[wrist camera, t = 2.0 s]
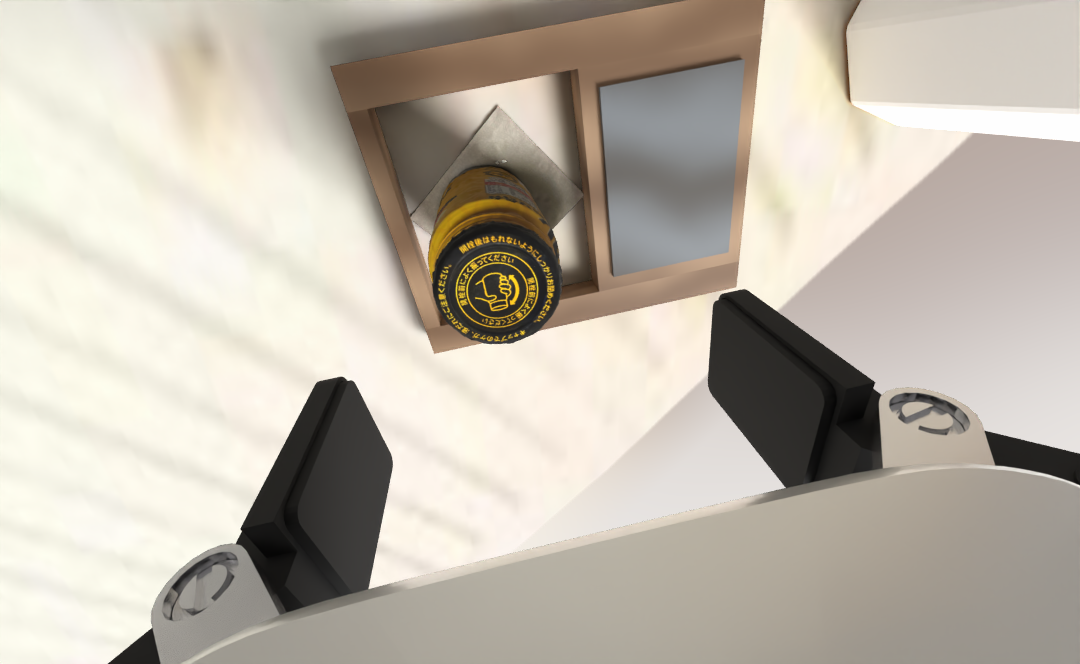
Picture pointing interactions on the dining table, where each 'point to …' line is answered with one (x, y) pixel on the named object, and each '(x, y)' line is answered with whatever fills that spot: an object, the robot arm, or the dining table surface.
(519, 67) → the pocket board
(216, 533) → the dining table surface
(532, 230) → the condiment
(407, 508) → the dining table surface
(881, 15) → the cup
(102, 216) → the dining table surface
